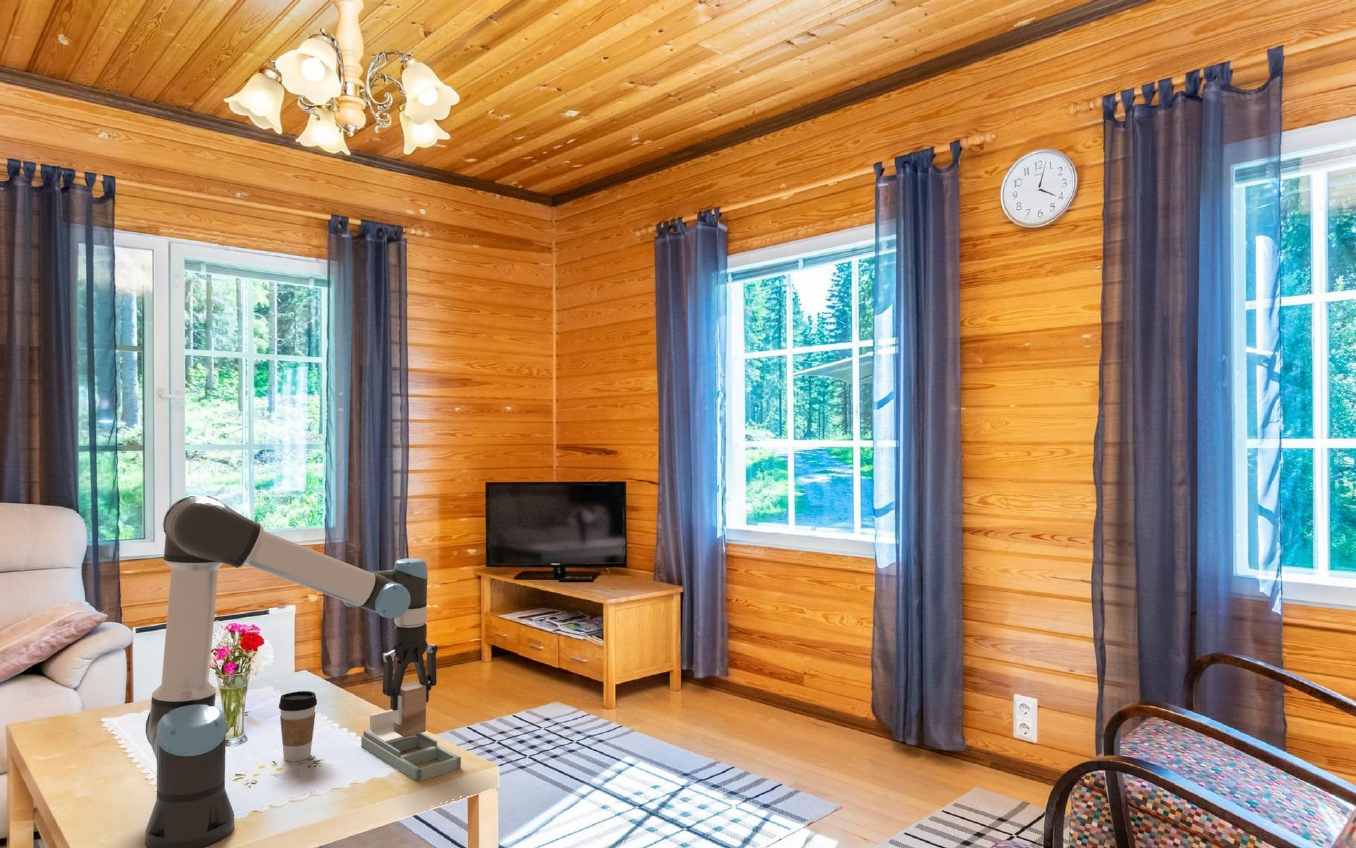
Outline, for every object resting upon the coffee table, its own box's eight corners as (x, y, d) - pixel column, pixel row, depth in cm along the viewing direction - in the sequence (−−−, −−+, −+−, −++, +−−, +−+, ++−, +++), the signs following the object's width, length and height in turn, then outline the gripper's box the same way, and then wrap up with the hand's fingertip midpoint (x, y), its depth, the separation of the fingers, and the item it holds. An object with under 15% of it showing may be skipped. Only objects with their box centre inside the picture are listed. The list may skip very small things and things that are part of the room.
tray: (460, 768, 202) (460, 752, 202) (417, 781, 194) (417, 765, 194) (402, 735, 222) (403, 721, 222) (361, 746, 214) (361, 731, 214)
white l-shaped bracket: (415, 736, 214) (415, 717, 214) (384, 744, 208) (385, 724, 208) (398, 726, 220) (398, 707, 220) (367, 734, 215) (368, 715, 215)
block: (425, 731, 208) (426, 686, 208) (404, 737, 204) (404, 691, 204) (414, 725, 212) (414, 681, 212) (393, 731, 208) (393, 685, 208)
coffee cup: (269, 759, 205) (270, 696, 205) (300, 747, 212) (301, 686, 212) (293, 766, 201) (294, 702, 201) (324, 754, 208) (325, 692, 208)
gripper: (437, 615, 217) (436, 707, 217) (366, 627, 204) (365, 725, 204) (453, 620, 212) (452, 714, 212) (381, 633, 199) (380, 733, 199)
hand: (409, 719), depth 208 cm, fingers closed on block, 5 cm apart
